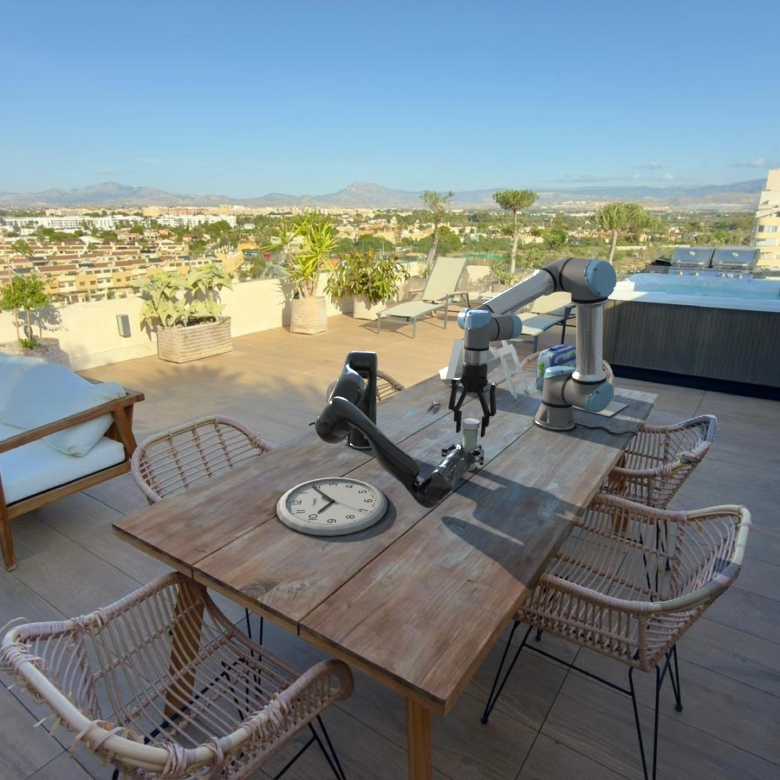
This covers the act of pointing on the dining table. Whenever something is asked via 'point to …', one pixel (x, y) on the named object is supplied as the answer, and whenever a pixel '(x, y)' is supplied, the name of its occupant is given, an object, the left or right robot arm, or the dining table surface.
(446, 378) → the white plastic object
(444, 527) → the dining table surface
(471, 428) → the lid
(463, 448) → the pale green cylinder
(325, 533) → the wall clock
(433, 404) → the fork
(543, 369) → the lunch box
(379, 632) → the dining table surface
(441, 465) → the left robot arm
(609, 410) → the invitation card
